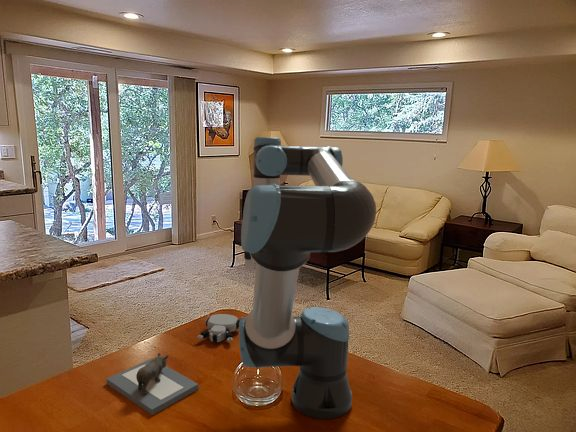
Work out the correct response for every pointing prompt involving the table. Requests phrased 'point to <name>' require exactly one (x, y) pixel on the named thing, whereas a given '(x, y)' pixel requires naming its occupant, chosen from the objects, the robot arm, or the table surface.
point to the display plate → (153, 388)
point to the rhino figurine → (150, 372)
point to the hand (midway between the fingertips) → (264, 264)
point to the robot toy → (220, 327)
